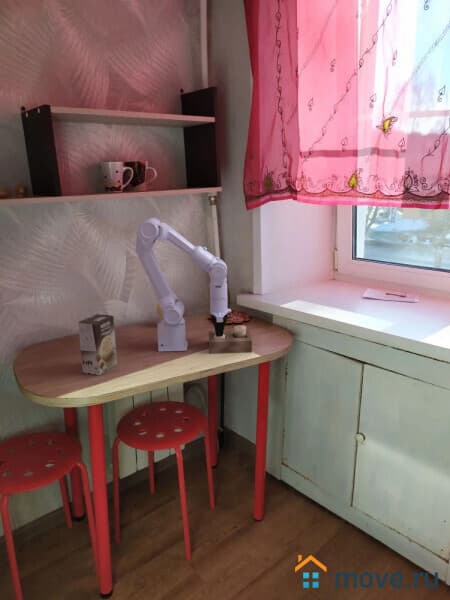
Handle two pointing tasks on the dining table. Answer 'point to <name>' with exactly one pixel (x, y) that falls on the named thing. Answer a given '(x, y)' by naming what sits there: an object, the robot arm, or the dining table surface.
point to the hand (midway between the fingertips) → (219, 335)
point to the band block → (229, 343)
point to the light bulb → (160, 312)
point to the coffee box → (97, 344)
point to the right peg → (239, 331)
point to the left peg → (218, 337)
